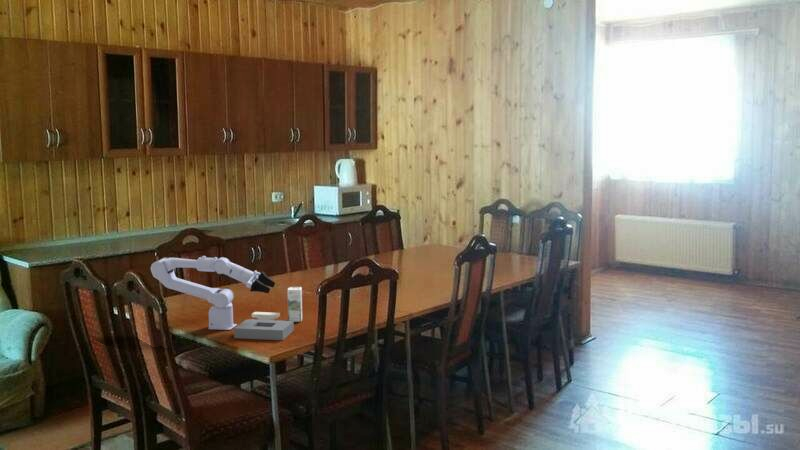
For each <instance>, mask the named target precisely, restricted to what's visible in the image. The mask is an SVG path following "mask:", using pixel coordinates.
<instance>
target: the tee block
mask: <svg viewBox="0 0 800 450" xmlns="http://www.w3.org/2000/svg"><path fill="white" fill-rule="evenodd" d="M280 316H281V313H280V312H271V311H269V312H267V311H254V312H252V313H251V318H256V320H275V319H278V318H279V317H280Z"/></svg>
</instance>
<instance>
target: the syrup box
mask: <svg viewBox="0 0 800 450" xmlns="http://www.w3.org/2000/svg"><path fill="white" fill-rule="evenodd" d="M286 292H287V321H294V323H302V321H303V288H302V286H289V287H288V288H287V291H286Z"/></svg>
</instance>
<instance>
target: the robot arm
mask: <svg viewBox="0 0 800 450" xmlns="http://www.w3.org/2000/svg"><path fill="white" fill-rule="evenodd" d="M176 268H191V269H192V268H193V269H196V270H197V271H199V272H208V273H211V272H213V273H214V272H216V274H218V275H222V274H223V275H226V276H228V277H229V278H231V279H234V280H236V281H238V282H240V283H243V284H245V287H246V288H248V289H249V291H250V293H251V292H253V293H254V292H258V293H259V292H260V293H263V294H270V291H271V288H274V287H275V284H276V282H275V281H274V280H273V279H272V278H270V277H269V276H268V275H267V273H266V272H265V271H262V270H261V272H260V271H257V269H256V270H254V271H252V270H250V269H247V268H245V267H244V266H241V265H239V264H237V263H233V262H232V261H230V259H228V258H227V257H224V256H221V257H219V258H218V257H217V256H214V257H207V256H206V255H202V256H200V257H198V258H197V259H190V258H180V257H162V258H160V259H159V260H156V261H154V262H152V263H151V266H150V272H151V274H152V277H153V278H155V279H157V280H158V281H159V283H161V284H162V285H163V287H165V288H167V289H170V290H174V291H176V292H180V293H183V294H187V295H189V296H194V297H197V298H200V299H203V300H207V302H208V303H210V304H212V305H213V306H210V308H209V310H208V330H219V331H221V330H224V331H229V330H230V331H231V330H232V329H234V328H235V327H237V326H238V324H237V323H234V308H233V307H234V306H233V303H232V302H233V300H234V297H235V295H234V292H233V291H232V289H229V288H219V287H209V286H206V285H203V284H199V283H197V282H192V281H189V280H186V279H182V278H179V277H177V276H176V273H175V269H176Z"/></svg>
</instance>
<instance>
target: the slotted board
mask: <svg viewBox="0 0 800 450" xmlns="http://www.w3.org/2000/svg"><path fill="white" fill-rule="evenodd" d="M294 323H295V322H294V321H288V320H278V319H277V320H275V319H274V320H257V318H256V319H253V318H250V319H249V318H247V319H245V320H244V321H242V322H241V323H238V324H237V325H236V326H235V327H233V330H234V332H233V335H234V337H233V338H234V339H243V340H244V339H245V340H246V339H247V340H249V339H250V340H266V341H267V340H269V341H272V340H273V341H284V340H285V339H286V338H287V337H288V336H290V334H291V333H292V332H294V330H295V329H294V326H295V324H294Z"/></svg>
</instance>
